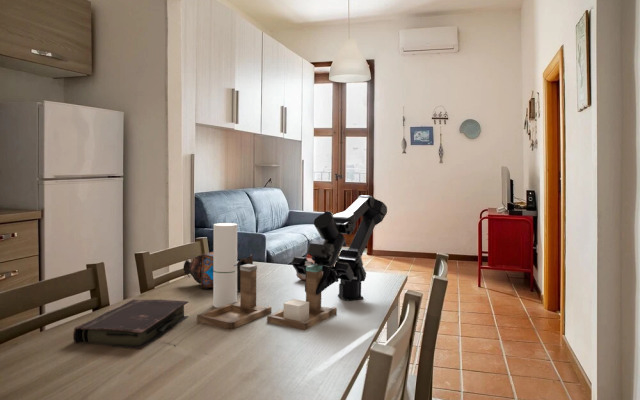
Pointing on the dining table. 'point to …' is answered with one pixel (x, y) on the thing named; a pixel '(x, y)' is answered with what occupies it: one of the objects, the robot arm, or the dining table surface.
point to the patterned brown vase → (210, 269)
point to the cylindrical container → (225, 264)
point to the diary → (132, 323)
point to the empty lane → (238, 304)
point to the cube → (296, 310)
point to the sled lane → (315, 308)
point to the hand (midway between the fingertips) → (311, 293)
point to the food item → (303, 277)
